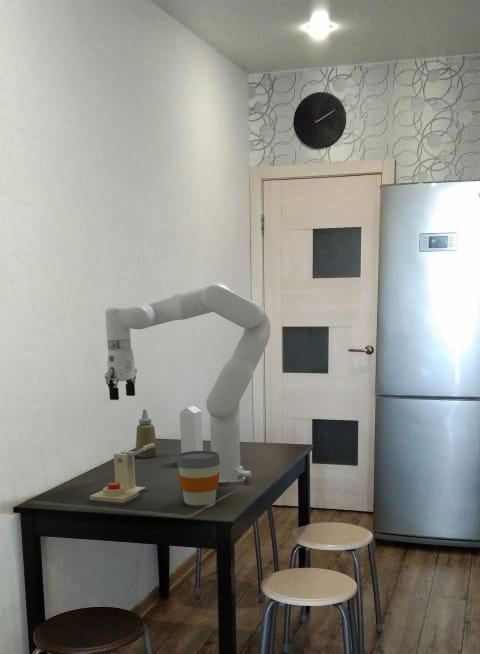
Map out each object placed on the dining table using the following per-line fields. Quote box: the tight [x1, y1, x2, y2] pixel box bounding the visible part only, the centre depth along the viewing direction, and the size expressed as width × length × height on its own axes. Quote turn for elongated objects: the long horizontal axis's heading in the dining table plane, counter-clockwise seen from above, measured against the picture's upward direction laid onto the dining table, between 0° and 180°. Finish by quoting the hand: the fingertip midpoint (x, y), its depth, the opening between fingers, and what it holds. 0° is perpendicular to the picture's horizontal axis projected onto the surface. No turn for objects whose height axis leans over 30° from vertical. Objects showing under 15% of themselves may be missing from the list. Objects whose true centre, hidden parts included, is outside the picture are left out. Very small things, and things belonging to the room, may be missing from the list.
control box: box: [89, 486, 140, 504], centre depth 258 cm, size 12×9×4 cm
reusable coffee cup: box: [176, 450, 220, 509], centre depth 250 cm, size 13×13×15 cm
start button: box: [107, 481, 120, 490], centre depth 258 cm, size 4×4×2 cm
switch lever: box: [126, 443, 155, 461], centre depth 264 cm, size 12×5×2 cm, turn 67°
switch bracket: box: [113, 450, 147, 492], centre depth 267 cm, size 10×8×13 cm
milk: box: [179, 401, 204, 454], centre depth 309 cm, size 6×6×22 cm
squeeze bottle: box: [135, 409, 158, 459], centre depth 322 cm, size 8×8×18 cm
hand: (122, 397), depth 278 cm, fingers open, 9 cm apart
